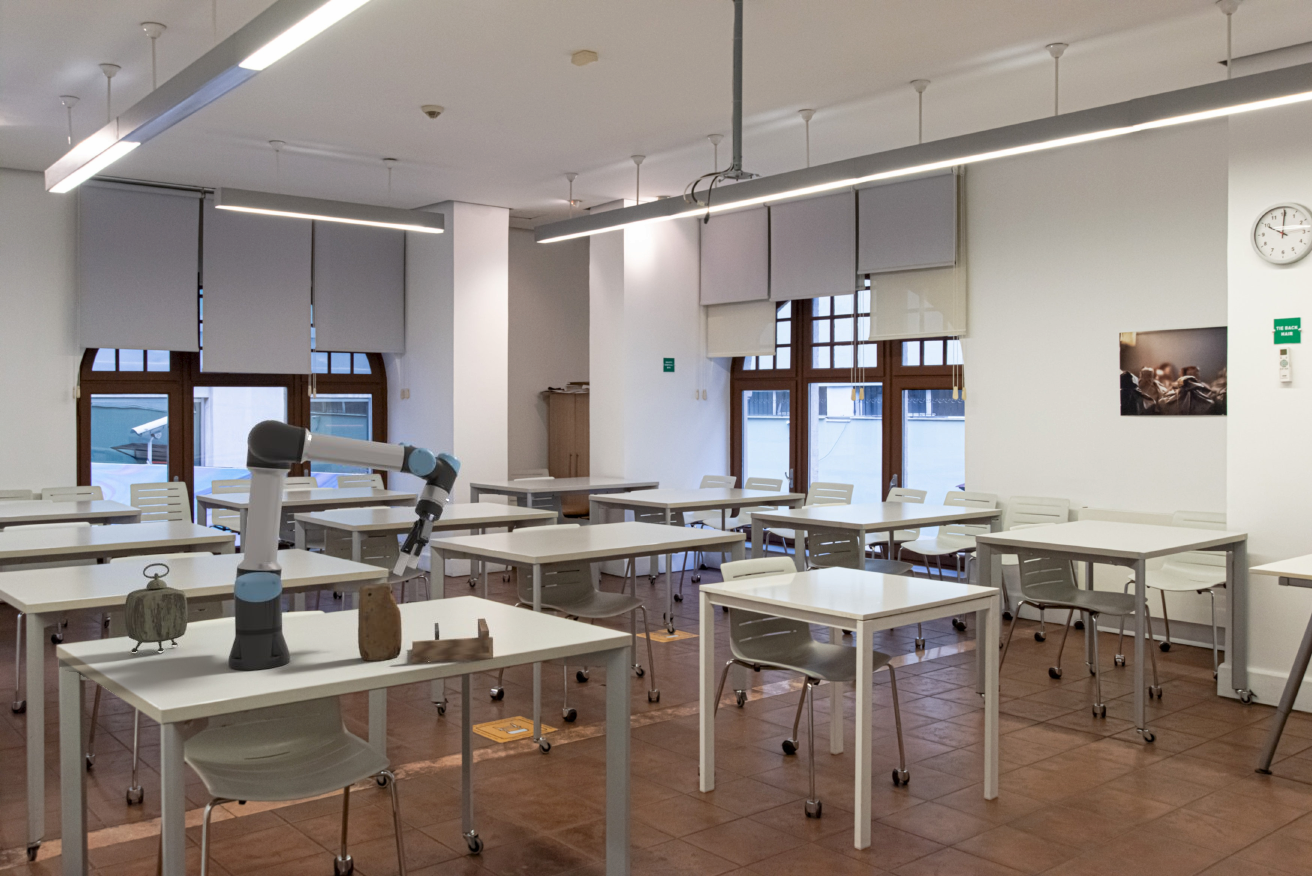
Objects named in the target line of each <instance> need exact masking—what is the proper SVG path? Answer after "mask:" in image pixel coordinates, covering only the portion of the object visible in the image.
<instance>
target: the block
mask: <svg viewBox="0 0 1312 876" xmlns="http://www.w3.org/2000/svg"><path fill="white" fill-rule="evenodd" d="M358 597H359V598H358V609H357V610H358V613H357V614H358V618H357V619H358V621H357V623H358V625H357V626H358V627H357V632H358V633H357V635H358V636H357V638H358V640H357V644H358V650H359V655H360V657H361V659H362V660H364V661H368V662H381V661H385V660H388V659H389V660H390V659H393V658H397V657H398V656H400V655H401V650H402V638H403V637H402V636H403V635H402V614H401V613H402V612H401V610H400V608H399V606H398V604H397V602H396V599H395V594H394V589H393V586H392V584H391V583H387V582H381V583H372V584H371V583H370V584H365V585H362V586H360V588H359V596H358Z"/></svg>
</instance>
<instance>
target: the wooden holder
mask: <svg viewBox="0 0 1312 876" xmlns="http://www.w3.org/2000/svg"><path fill="white" fill-rule="evenodd" d="M488 626H489V625H488V623H487V621H486V618H477V637H466V638H446V639H440V628H439V627H440V626H439V622H434V639H430V640H426V639H425V640H413V641H411V645H412V648H411V649H412V655H411V656H412V664H420V663H419V662H426V663H429V662H428V661H442V662H452V661H453V662H455V661H471V660H472V659H473V660H482V659H483V660H486V659H489V660H490V659H494V637H493V636H490V630H489V627H488Z"/></svg>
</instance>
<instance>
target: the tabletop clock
mask: <svg viewBox="0 0 1312 876" xmlns="http://www.w3.org/2000/svg"><path fill="white" fill-rule="evenodd" d="M157 566H162V567H165V568H166V569H167V571H166V572H165V573H163V574H161V575H159V573H158V572H155V573H154V575H153V576H152V575H147V574H146V571H147V570H148V569H149V568H151V567H157ZM169 573H170V568H169V566H168V565H167V564H165V563H163V562H162V563H160V562H155V563H151V564H148V565H147V566H146V567H144V568H143V570H142V575H143V576H144V577H146V578H148V579H152V580H149V582H148V583H147V584H146V587H145V588H141V589H136V590H133V591H131V592H129V593H127V596H126V599H125V604H124V617H123V618H124V625H125V626H124V627H125V631H126V634H127V637H128V638H130V639H131V640H133V641H136V642H137V644H136V645H135V647H133V648H132V649H131V651H132V652H136V651H139V647H140V646H141V644H142V643H143V644H144V643H145V644H151V643H158V647H159V648H158V649H157V652H158V651H163V650H164V651H165V649H164V647H162V643H163V642H166V641H167V642H168V641H171V643H170V644H171V645H177V646H178V642H176V641H175V640H176V639H179V638H181V637H183V636H184V635H185V633H186V631H187V628H188V618H189V610H188V609H189V607H188V599H187V596H186V593H185V591H184V590H181V589H178V588H174V587H170V586H168V585H167V583H166V581H164V580H163V579H162V578H164V577H166V576H168V574H169ZM132 652H131V653H132Z"/></svg>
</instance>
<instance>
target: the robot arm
mask: <svg viewBox="0 0 1312 876" xmlns="http://www.w3.org/2000/svg"><path fill="white" fill-rule="evenodd" d="M306 461H309V462H316V463H324V464H332V465H340V466H348V467H356V468H365V469H372V470H378V471H379V470H380V471H387V472H394V473H395V472H396V473H401V474H402V473H403V474H409V475H412V476H415V477H418V478H420V479H422V480H423V481H426V482H425V485H424V487H423V489H422V492H421V494H420V497H419V499H420V500H418V501H417V504H416V507H415V508H414V513H415V514H416V515H417V516H418V517H419V518H418V519H415V521H414V522H413V525H412V527H411V529H410V531H409V533H408V534H407V536H406V539H405V541H404V542H403V545H402V546H401V548H400V549H399V551H400V554H399V557H398V559H397V561H396V564H395V566H394V568H393V571H392V573H393V574H395V575H397V576H399V577H402V576H403V574H404V572H405V569H406V567H409V568H411V569H413V570H416V569H417V566H418V563H419V561H420V558H421V557H422V554H423V552H424V549H425V547H426V546H427V544H428V543H429V542H430V538H431V534H432V531H433V527H434V523H435V522H437V521H439V520H440V519H441V516H442V513H443V511H444V508H445V505H446V503H449V499H448V498H449V495H450V494H451V492H452V489H453V486H454V484H455V482H456V480H457V478H458V476H459V475H458V474H459V471H460V470H461V469H460V468H461V461H460V460H459V459H458V458H457V457H456V456H455V455H452V454H448V453H445V452H441V453H438V455H437V456H435V455H434V453H433V452H432V451H431V450H429V449H428V448H425V447H416V446H413V445H412V444H410V443H406V442H404V441H401V442H399V443H398V444H393V443H386V442H378V441H372V440H364V439H358V438H353V437H345V436H337V435H330V434H324V433H323V434H321V433H316V432H311V431H310V430H309V429H308V428H306V427H300V426H295V425H292V424H287V423H285V422H283V421H280V420H275V419H269V420H268V419H267V420H263V421H260V422H258V423H256V424H255V425H254V426H253V427H252V428H251V430H250V431H249V433H248V437H247V454H246V465H245V466H246V469H247V470H248V471H249V472H250V475H251V476H250V487H249V497H248V498H249V499H248V509H247V521H246V529H245V530H246V531H245V541H244V550H243V551H244V553H243V560H242V561H241V562H240V563H239V564H238V565H236V575H235V580H234V586H233V599H234V625H235V626H234V628H235V629H234V630H235V631H234V635H235V636H234V640H233V643H232V646H231V649H230V653H229V656H228V668H230V667H231V668H230V669H232V668H235V669H234V670H239V671H241V670H242V671H243V670H244V671H245V670H247V671H248V670H249V671H255V670H263V669H264V670H265V669H271V668H276V667H281V666H283V665H287V664H289V663H290V661H291V659H290V658H291V657H290V656H291V655H290V653H291V652H290V650H289V647H288V644H287V642H286V640H285V636H284V634H283V597H282V595H283V594H282V593H283V592H282V591H283V583H282V569H283V568H282V566H281V564H279V563H278V551H279V539H280V530H281V529H280V527H281V516H282V506H283V505H282V504H283V493H284V482H285V476H286V475H287V474H288V473H289V472H291V468H292V463H296V464H303V463H304V462H306Z"/></svg>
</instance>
